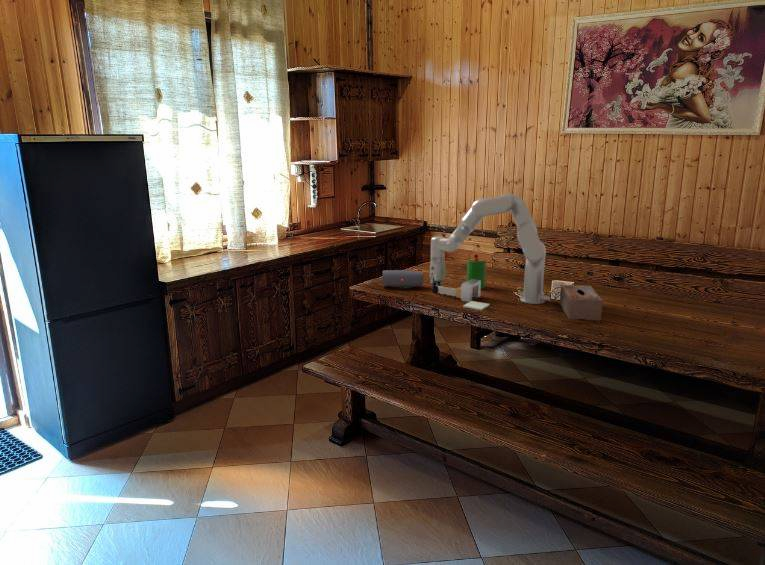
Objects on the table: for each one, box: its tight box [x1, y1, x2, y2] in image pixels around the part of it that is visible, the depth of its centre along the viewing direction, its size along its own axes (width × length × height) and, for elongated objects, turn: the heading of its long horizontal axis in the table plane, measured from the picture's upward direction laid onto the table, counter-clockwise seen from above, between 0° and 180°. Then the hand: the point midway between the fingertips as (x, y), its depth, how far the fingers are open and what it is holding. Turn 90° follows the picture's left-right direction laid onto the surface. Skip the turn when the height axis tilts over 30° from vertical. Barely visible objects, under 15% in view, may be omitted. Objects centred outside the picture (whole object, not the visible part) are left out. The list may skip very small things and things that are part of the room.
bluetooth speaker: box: [381, 269, 424, 289], centre depth 310 cm, size 23×9×10 cm, turn 83°
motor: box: [466, 252, 487, 290], centre depth 309 cm, size 10×9×20 cm
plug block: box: [455, 286, 461, 299], centre depth 292 cm, size 5×5×5 cm
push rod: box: [437, 285, 456, 297], centre depth 297 cm, size 15×2×4 cm, turn 55°
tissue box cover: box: [559, 284, 604, 321], centre depth 267 cm, size 26×14×10 cm, turn 172°
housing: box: [460, 279, 482, 303], centre depth 289 cm, size 5×13×9 cm, turn 145°
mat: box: [462, 300, 491, 311], centre depth 276 cm, size 10×10×1 cm
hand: (436, 291), depth 301 cm, fingers closed on push rod, 2 cm apart
